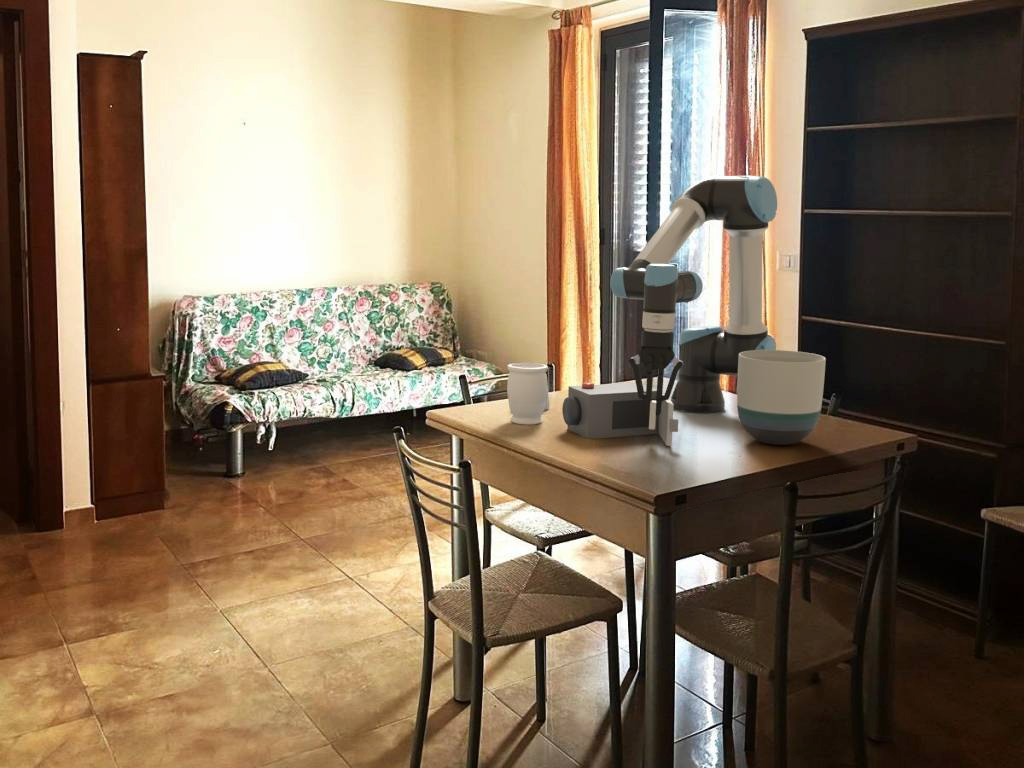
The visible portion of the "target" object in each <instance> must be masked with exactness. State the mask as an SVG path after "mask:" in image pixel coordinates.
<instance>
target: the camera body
mask: <svg viewBox="0 0 1024 768" xmlns="http://www.w3.org/2000/svg"><path fill="white" fill-rule="evenodd" d="M642 384H643V383H642ZM646 385H647V384H643V389H644V393H645V394H646ZM656 394H657V387H656V388H655V387H653V386H652V400H655V401H656ZM567 396H568V397H565V398H564V400H563V402H562V407H561V408H562V417H563V421H564V423H565V424H566V425H567V430H569V431H571V432H573V433H575V434H577V435H579V436H581V437H583V438H585V439H590V440H591V439H602V438H604V439H605V438H606V439H607V438H619V437H632V436H633V437H634V436H643V435H644V436H645V435H660V434H659V433H658V420H659V415H656V427H655V429H649V418H650V415H648V414H646V413H645V407H646V401H645V400H644V399H642V398H639V397H638V392H637V387H636V382H627V383H626V382H625V383H624V382H623V383H609V384H608V383H605V384H603V383H602V384H595V383H594V382H582V383H581V385H569V386H568V395H567Z"/></svg>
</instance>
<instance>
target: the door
mask: <svg viewBox="0 0 1024 768" xmlns="http://www.w3.org/2000/svg"><path fill="white" fill-rule="evenodd" d="M662 395H665V392H663V393H662ZM673 406H674V404H673V403H672V402H671V398H669V399H668V400H665V401H662V406H661V414H660V415H659V420H658V433H659V434H658V435H659V436H660V438H661V439H662V440H663V441H662V442H664V445H666V446H667V447H671V446H673V445H672V444H673V433H678V431H679V418H674V409H673Z"/></svg>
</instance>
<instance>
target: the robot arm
mask: <svg viewBox="0 0 1024 768" xmlns="http://www.w3.org/2000/svg"><path fill="white" fill-rule="evenodd" d="M777 210H778V197H777V191H776V188H775V186H774V185H773V183H772V181H771V180H770V179H769V178H767V177H765V176H757V175H713V176H712V175H711V176H708V177H705V178H703V179H700V180H698V181H697V182H695V183H694V184H692V185H690V186H689V187H687V189H685V190H684V191H683V192H682V193H681V194H680V195H679V196H678V197H677V198H676V199H675V200H674V202H673V204H672V206H671V212H670V213H669V214H668V216H667V217H666V219H665V220H664V221H663V222H662V224H661V225H660V227H659V228H658V229H657V230H656V231H655V233H653V235H652V237H651V238H650V239H649V241H648V242H647V243H646V244H645V246H644V247H643V249H641V251H640V252H639V254H638V255H637V256H636V257H635V259H634V260H633V261H632V263H631V264H630V265H629V267H626V266H623V267H617V268H615V269H614V270H613V272H612V274H611V277H610V280H609V281H610V285H609V286H610V290H611V292H612V294H613V295H614V297H617V298H623V299H628V300H630V299H631V300H642V301H643V309H642V319H641V321H642V323H641V324H642V326H641V327H642V328H643V330H642V331H641V338H640V339H641V344H640V349H639V351H638V354H636V355H635V356H631V357H630V358H629V359H628V363H629V364H630V366H631V367H632V372H633V375H634V380H635V383H636V387H637V392H638V397H639V398H642V399H644V400H645V401H646V407H645V413H646V414H648V415H650V418H649V429H655V427H656V415H660V414H661V406H662V401H665V400H668V399H670V400H671V402H672V403H673V404H674V406H673V410H675V411H679V412H680V411H681V412H686V413H694V414H695V413H696V414H697V413H698V414H706V413H707V414H712V413H713V414H714V413H720V412H723V411H725V406H726V405H725V404H726V403H725V402H726V401H725V398H724V394H723V391H722V387H721V383H720V381H721V375H725V376H733V377H734V376H735V377H738V358H739V353H741V352H744V351H752V350H777V342H776V339H775V338H774V337H772V336H770V335H769V334H768V333H769V330H768V328H769V327H768V326H767V325H765V324H764V323H763V234H764V233H765V232H766V231H767V230H768V228H769V223H770V222H773V220H774V219H775V217H776V215H777ZM708 221H709V222H710V221H722V223H723V224H722V225H723V228H722V229H723V230H724V231H725V232H726V233H727V234H728V236H729V242H728V244H729V245H728V246H729V248H728V249H729V255H728V256H729V258H728V259H729V260H728V262H729V265H728V266H729V268H728V269H729V271H728V272H729V274H728V275H729V279H728V280H729V285H728V286H729V287H728V289H729V290H728V291H729V322H728V324H727V325H726V326H724V327H722V326H721V325H707V326H705V325H704V326H697V327H689V328H688V327H687V328H683V330H681V331H680V333H679V343H678V357H677V356H675V355H676V354H675V352H674V340H675V339H674V337H675V335H674V334H675V333H674V331H673V330H674V329H675V323H676V307H677V306H676V304H681V303H685V304H688V303H690V302H693V301H695V300H697V299H698V298H699V297H700V296H701V295H702V292H703V287H704V286H703V285H704V284H703V280H702V279H701V277H700V275H699V273H698V274H697V272H694V271H691V270H679V271H678V267H677V266H676V265H675V264H670V263H671V261H672V260H673V258H674V257H675V256H676V255H677V253H678V252H679V251H680V249H681V248H682V246H683V245H684V244H685V243H686V241H687V240H688V239H689V237H690V236H691V234H692V233H693V232H694V231H695V230H696V229H699V228H701V227H702V226H703V225H704V224H705V223H706V222H708ZM640 360H641V361H640ZM641 362H642V364H643V365H644V366H645V367H646V384H645V385H646V394H645V393H644V389H643V381H642V380H643V379H642V374H641V373H642V372H641V368H640V366H639V365H640V363H641ZM671 363H672V367H673V369H672V371H671V374H670V378H669V380H668V384H667V387H666V390H665V392H663V391H664V389H663V388H664V378H665V377H664V376H665V369H666V368H667V367H668V366H669V365H670V364H671ZM654 370H657V378H656V379H657V380H656V389H657V394H656V401H655V400H652V387H653V386H654V385H653V381H654ZM676 378H677V380H676ZM675 382H676V385H675ZM674 385H675V387H674ZM672 391H673V392H672ZM662 393H665V395H662Z"/></svg>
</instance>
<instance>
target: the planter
mask: <svg viewBox="0 0 1024 768" xmlns="http://www.w3.org/2000/svg"><path fill="white" fill-rule="evenodd" d="M826 361H827V358H826V357H825V356H823V355H820V354H816V353H812V352H811V353H809V352H805V351H804V352H803V351H797V350H796V351H795V350H783V349H782V350H781V349H776V350H752V351H744V352H741V353H739V358H738V376H737V385H736V387H737V388H736V391H737V392H736V406H737V407H736V408H737V415H738V418H739V422H740V424H741V426H742V428H744V430H745V431H746V433H747V434H748V435H750V436H751V437H752V438H753V439H755V440H757V441H758V442H761V443H764V444H767V445H772V444H773V445H774V446H788V445H793V444H797V443H799V442H801V441H802V440H805V438H808V436H809V435H811V433H813V431H815V429H816V427H817V424H818V423H819V420H820V416H821V412H822V404H823V397H824V396H823V395H824V388H825V387H824V385H825V377H826V376H825V374H826V373H825V372H826ZM773 445H772V446H773Z"/></svg>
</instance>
